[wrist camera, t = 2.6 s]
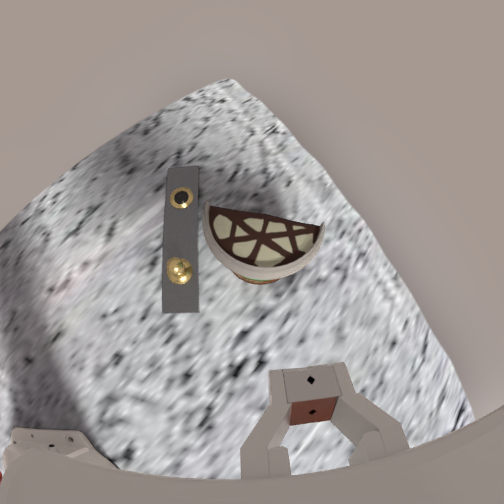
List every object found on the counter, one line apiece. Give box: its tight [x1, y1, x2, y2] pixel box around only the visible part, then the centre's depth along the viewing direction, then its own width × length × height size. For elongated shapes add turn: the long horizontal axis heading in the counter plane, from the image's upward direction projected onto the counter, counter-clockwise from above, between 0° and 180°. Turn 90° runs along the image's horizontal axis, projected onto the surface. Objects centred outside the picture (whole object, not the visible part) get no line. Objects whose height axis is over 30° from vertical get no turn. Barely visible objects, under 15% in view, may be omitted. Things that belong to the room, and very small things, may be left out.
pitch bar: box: [162, 166, 199, 313], centre depth 35 cm, size 4×20×4 cm, turn 4°
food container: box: [203, 200, 325, 285], centre depth 31 cm, size 12×6×10 cm, turn 79°
